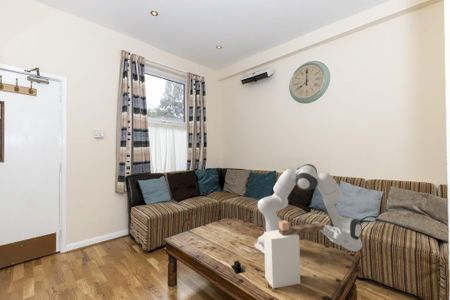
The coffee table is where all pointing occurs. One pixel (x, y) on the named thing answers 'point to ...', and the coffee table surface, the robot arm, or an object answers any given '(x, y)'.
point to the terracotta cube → (284, 225)
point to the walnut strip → (302, 229)
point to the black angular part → (237, 267)
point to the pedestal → (281, 259)
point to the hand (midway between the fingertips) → (318, 226)
